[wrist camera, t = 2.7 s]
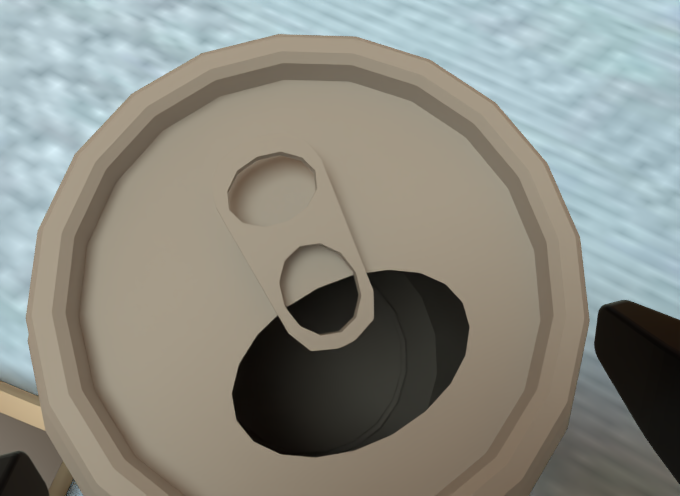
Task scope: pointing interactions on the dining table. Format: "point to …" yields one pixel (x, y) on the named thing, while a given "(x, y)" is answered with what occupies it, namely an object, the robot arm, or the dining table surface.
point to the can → (307, 285)
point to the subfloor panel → (31, 437)
